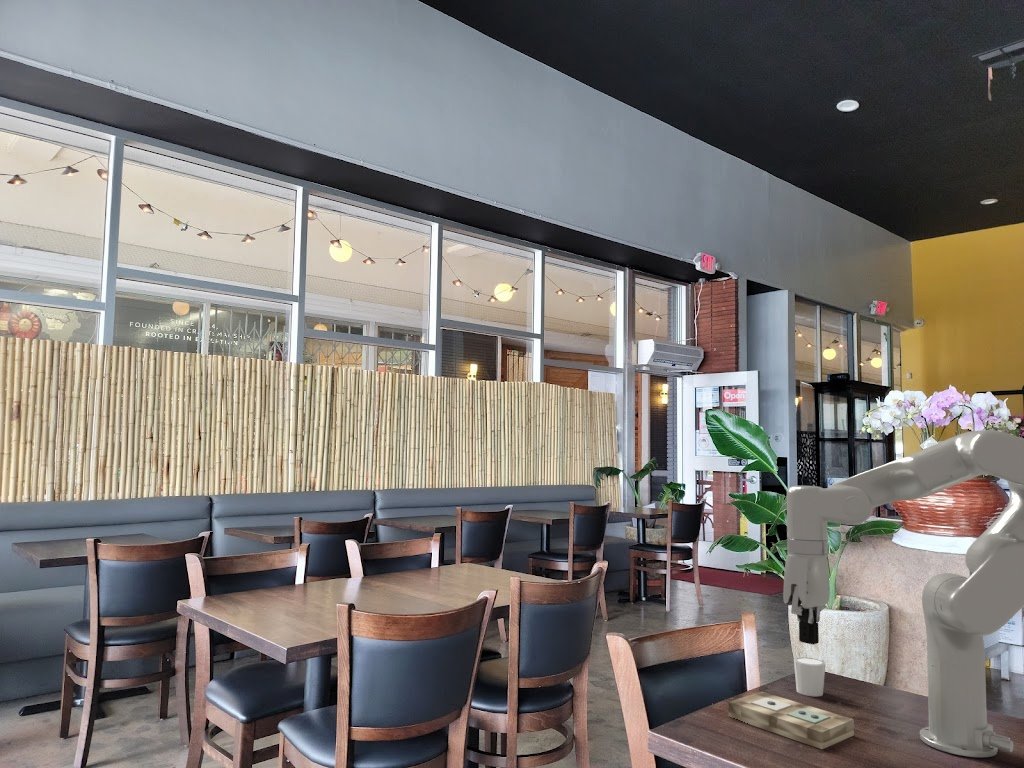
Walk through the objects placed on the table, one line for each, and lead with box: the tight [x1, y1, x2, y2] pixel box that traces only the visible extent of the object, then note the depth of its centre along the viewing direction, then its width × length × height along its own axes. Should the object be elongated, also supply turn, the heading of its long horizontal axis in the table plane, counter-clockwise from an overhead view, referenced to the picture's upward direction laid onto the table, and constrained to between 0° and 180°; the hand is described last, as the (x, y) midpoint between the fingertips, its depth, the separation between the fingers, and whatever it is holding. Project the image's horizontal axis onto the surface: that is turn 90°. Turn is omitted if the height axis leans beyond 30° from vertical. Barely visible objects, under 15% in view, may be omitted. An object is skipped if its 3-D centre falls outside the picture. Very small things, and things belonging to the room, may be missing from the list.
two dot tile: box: [787, 708, 829, 724], centre depth 143 cm, size 6×6×2 cm
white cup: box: [793, 657, 826, 697], centre depth 168 cm, size 7×7×7 cm
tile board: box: [728, 691, 855, 750], centre depth 146 cm, size 20×12×3 cm, turn 39°
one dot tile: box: [751, 697, 791, 712], centre depth 149 cm, size 6×6×2 cm
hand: (808, 642), depth 145 cm, fingers closed
